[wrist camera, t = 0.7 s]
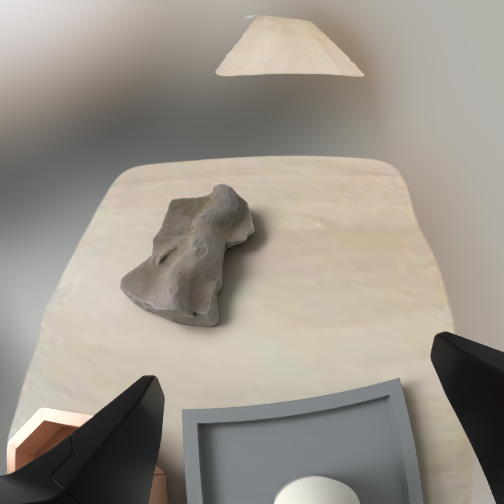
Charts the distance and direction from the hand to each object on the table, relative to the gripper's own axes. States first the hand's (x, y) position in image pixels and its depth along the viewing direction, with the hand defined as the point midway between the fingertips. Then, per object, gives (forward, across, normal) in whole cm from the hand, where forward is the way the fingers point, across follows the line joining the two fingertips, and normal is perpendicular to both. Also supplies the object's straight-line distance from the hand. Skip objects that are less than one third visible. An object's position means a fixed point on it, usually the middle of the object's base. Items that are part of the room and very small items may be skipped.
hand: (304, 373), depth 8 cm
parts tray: (+2, 0, +14) cm, 15 cm away
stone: (+21, +7, +3) cm, 22 cm away
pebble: (+2, 0, +14) cm, 14 cm away
